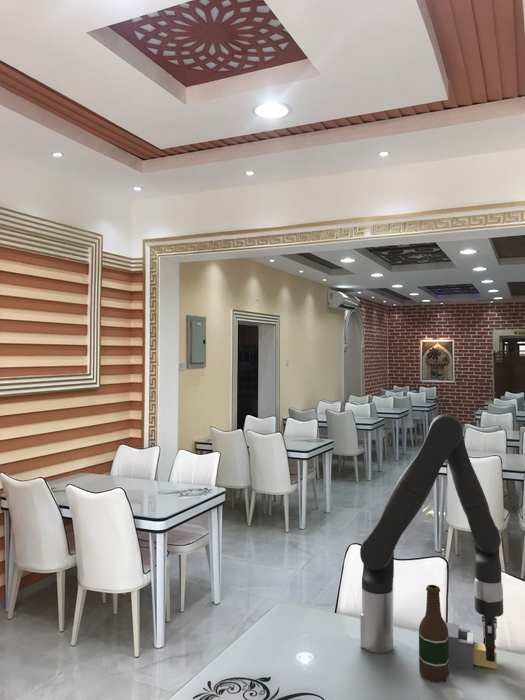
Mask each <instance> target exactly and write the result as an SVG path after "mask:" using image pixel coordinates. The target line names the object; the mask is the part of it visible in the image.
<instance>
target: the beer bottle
mask: <svg viewBox="0 0 525 700" xmlns="http://www.w3.org/2000/svg"><path fill="white" fill-rule="evenodd" d="M425 591H426V607H425V614H424V617H422V619H421V621H420V624H419V627H418V669H419V675H421V676H422V678H423V679H424V680H426V681H429V682H432V683H436V684H437V683H445V682H446V680H447V678H448V677H449V673H450V665H449V639H448V628H447V625H446V623H447V622H446V621H445V619H444V618H443V616H442V611H441V600H440V599H441V598H440V593H441V588H440V586H438V585H435V584H428V585H427V586H426V589H425ZM445 622H446V623H445Z"/></svg>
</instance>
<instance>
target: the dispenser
mask: <svg viewBox="0 0 525 700" xmlns="http://www.w3.org/2000/svg"><path fill="white" fill-rule="evenodd" d="M445 623H446V625H447V628H448V639H449V666H452V667H457V668H463V669H468V670H474V665H473V642H475V641H474V637H475V636H474V629H473V630H472V629H467V628H460V625H459V624H457V623H451V622H446V621H445Z"/></svg>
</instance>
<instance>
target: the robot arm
mask: <svg viewBox="0 0 525 700" xmlns="http://www.w3.org/2000/svg"><path fill="white" fill-rule="evenodd" d="M446 461H447V465H448V466H449V467H448V468H449V470H450V474H451V476H452V481H453V484H454V485H453V486H454V489H455V491H456V494H457V496H458V499H459V500H458V501H459V502H460V505H461V507H462V510H463V512H464V514H465V516H466V519H467V522H468V525H469V530H470V533H471V536H472V538H473V544H474V545H473V546H474V584H473V589H474V591H473V592H474V598H473V599H474V610H475V611H476V613H477V614H479V615H480V616H481V627H482V635H483V636H482V637H483V638H484V644H485V648H486V660H487V661H491V662H494V661H495V648H496V649H497V646H496V640H497V629H498V618H499V617H501V616H503V615H504V590H503V589H504V588H503V581H502V580H503V579H502V565H501V560H500V546H501V544H502V539H501V534H500V531H499V528H498V527H497V526H496V524H495V521H494V519H493V517H492V514H491V511H490V506H489V503H488V500H487V498H486V495H485V493H484V489H483V487H482V486H481V482H480V480H479V477H478V476H477V474H476V471H475V469H474V467H473V464H472V462H471V459H470V455H469V454H468V451H467V446H466V443H465V438H464V427H463V423H462V422H461V421H460V420H459V418H458V417H456V416H454V415H452V414H450V413H442V414H439V415H437V416H436V417H434V418H433V419H432V422H431V423H430V426H429V428H428V432H427V435H426V436H425V438H424V441H423V443H422V445H421V447H420V449H419V451H418V453H417V454H416V455H415V457H414V458H413V460H411V462H410V463H409V465H408V466H407V468H406V469H405V470H404V471H403V472H402V474H401V475H400V477H399V479H398V480H397V482H396V484H395V485H394V488H393V490H392V491H391V494H390V495H389V497H388V500H387V502H386V503H385V504H386V505H385V506H384V510H383V512H382V514H381V516H380V519H379V521H378V522H377V524H376V526H374V528H373V530H372V531H371V532H370V533H368V534H367V535H366V536H365V538H364V540H363V541H362V543H361V545H360V549H359V556H360V560H361V562H362V564H363V565H362V566H363V567H362V568H363V569H362V577H361V613H360V620H359V622H360V624H359V626H360V629H359V630H360V631H359V632H360V639H359V640H360V648H362V649H365V650H366V651H368V652H371V653H376V654H386V653H387V654H388V653H389V652H392V651H393V649H394V577H395V549H396V546H397V545H398V542H399V540H400V539H401V537H402V535H403V534H404V532H405V530H406V529H407V528H408V527H409V525H410V524H411V522H412V521H413V520H414V519H415V517H416V515H417V514H418V513H419V512H420V510H421V508H422V507H423V505H424V503H425V501H426V500H427V498H428V496H429V495H430V492H431V490H432V489H433V487H434V485H435V482H436V480H437V478H438V475H439V473H440V470H441V469H442V467H443V465H444V464H445V462H446Z"/></svg>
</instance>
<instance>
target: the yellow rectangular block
mask: <svg viewBox="0 0 525 700" xmlns="http://www.w3.org/2000/svg"><path fill="white" fill-rule="evenodd" d="M497 661H498V660H497V647H496V648H495V661H494V662H491V661H487V660H486V648H485V643H480V642H476V641H474V642H473V666H474V665H475V666H478V667H484V668H489V669H496V670H497V669H498V668H497V667H498V666H497V665H498V663H497Z"/></svg>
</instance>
